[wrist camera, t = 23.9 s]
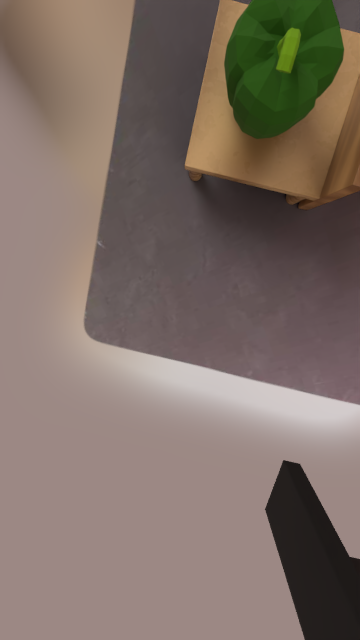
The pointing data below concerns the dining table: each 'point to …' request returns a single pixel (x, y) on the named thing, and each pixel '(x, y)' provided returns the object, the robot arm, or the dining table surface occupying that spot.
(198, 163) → the miniature wooden chair
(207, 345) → the dining table surface
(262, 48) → the bell pepper
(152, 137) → the dining table surface
